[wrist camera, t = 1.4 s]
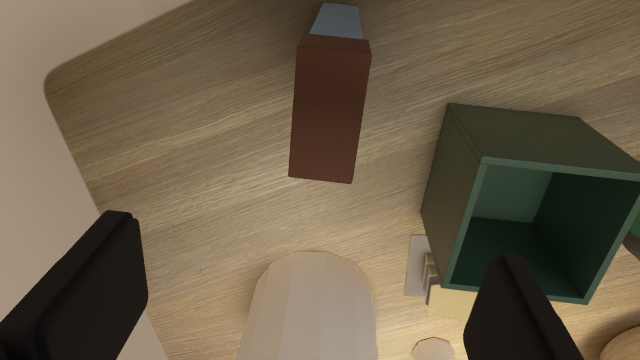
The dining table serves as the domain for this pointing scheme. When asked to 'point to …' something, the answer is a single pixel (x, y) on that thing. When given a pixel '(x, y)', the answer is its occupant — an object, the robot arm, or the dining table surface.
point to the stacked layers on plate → (434, 284)
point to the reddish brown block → (328, 106)
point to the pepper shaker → (433, 350)
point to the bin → (527, 199)
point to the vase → (623, 346)
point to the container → (311, 311)
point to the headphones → (633, 238)
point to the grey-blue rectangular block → (338, 21)
